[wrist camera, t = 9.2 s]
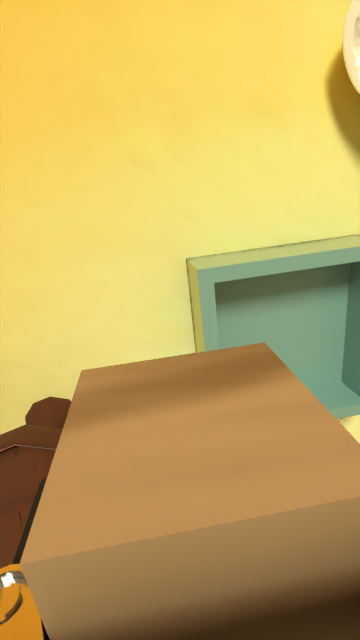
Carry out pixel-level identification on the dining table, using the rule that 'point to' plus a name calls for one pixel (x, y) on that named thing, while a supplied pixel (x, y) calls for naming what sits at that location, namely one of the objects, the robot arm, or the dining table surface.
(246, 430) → the walnut cube
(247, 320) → the stoneware box
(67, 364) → the dining table surface
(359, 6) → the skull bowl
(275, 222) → the dining table surface
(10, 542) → the ice cream bowl
